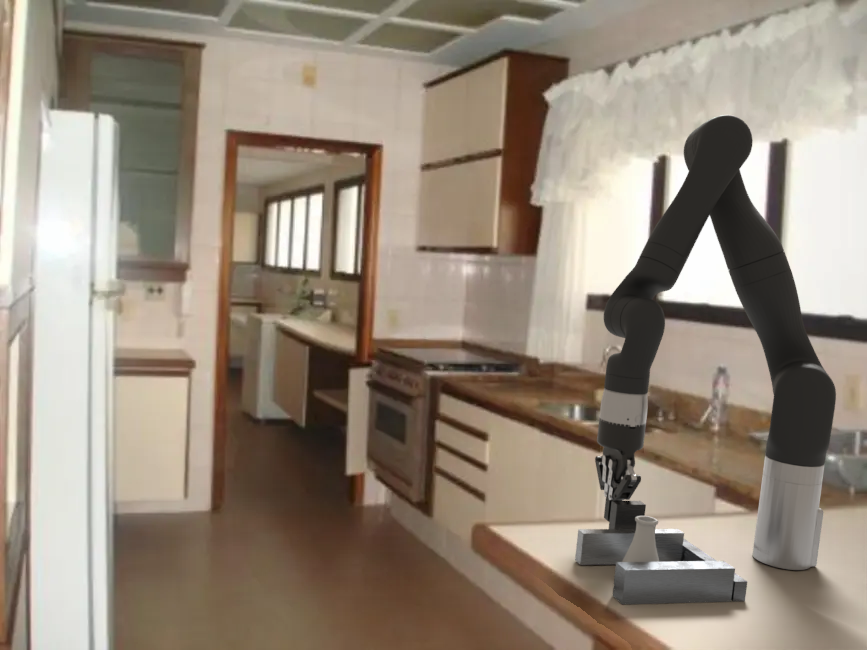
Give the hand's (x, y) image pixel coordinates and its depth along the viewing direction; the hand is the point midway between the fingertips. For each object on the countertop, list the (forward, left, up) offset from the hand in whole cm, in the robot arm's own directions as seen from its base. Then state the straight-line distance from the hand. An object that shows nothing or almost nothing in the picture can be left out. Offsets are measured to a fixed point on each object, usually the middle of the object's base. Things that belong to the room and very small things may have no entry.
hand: (611, 520), depth 157 cm
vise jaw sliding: (0, +7, -4) cm, 8 cm away
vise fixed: (-1, +13, -4) cm, 14 cm away
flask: (+2, +15, -5) cm, 16 cm away
